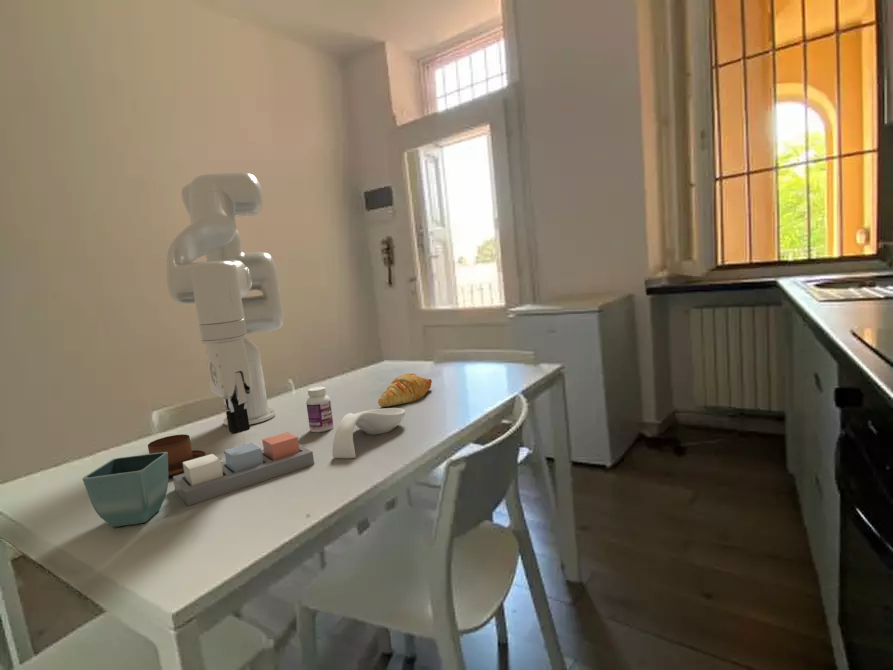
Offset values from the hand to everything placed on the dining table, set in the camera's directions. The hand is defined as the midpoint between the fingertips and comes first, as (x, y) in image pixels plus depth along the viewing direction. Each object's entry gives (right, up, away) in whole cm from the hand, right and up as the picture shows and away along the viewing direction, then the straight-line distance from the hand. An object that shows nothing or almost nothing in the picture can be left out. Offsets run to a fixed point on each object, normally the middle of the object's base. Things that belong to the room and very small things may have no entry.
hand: (239, 430), depth 95 cm
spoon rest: (+21, -5, +16) cm, 27 cm away
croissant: (+27, 0, +46) cm, 53 cm away
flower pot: (-11, -12, -13) cm, 20 cm away
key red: (+6, -5, +4) cm, 9 cm away
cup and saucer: (-16, -10, +8) cm, 21 cm away
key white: (-5, -7, -4) cm, 10 cm away
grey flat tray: (+1, -8, 0) cm, 8 cm away
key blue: (+1, -6, 0) cm, 6 cm away
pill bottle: (+9, -4, +26) cm, 28 cm away
